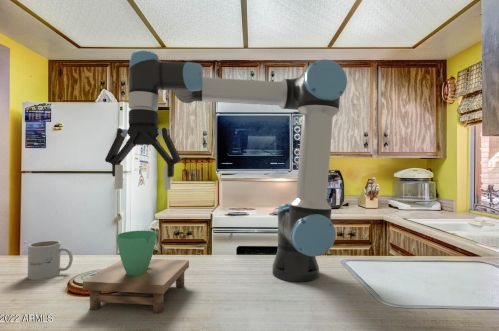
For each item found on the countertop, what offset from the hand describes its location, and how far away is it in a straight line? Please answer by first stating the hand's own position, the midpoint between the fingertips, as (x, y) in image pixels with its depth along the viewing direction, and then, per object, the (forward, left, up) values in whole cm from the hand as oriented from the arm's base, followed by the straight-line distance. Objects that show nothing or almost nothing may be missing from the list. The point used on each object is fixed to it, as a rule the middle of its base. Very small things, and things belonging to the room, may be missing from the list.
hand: (142, 189), depth 83 cm
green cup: (0, 0, -22) cm, 22 cm away
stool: (0, 0, -29) cm, 29 cm away
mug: (+36, -12, -29) cm, 48 cm away
